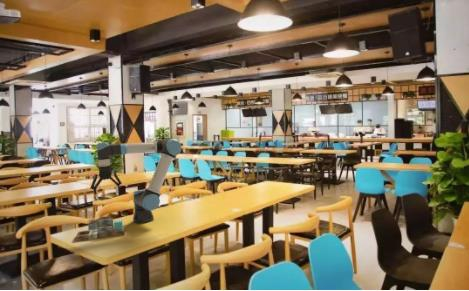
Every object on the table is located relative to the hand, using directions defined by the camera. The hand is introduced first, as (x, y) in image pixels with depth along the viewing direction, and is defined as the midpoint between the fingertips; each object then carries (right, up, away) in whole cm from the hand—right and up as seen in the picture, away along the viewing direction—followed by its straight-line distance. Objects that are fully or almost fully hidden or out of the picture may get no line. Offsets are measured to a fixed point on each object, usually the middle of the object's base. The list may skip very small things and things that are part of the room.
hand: (107, 197), depth 239 cm
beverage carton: (-10, -24, +14) cm, 30 cm away
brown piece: (-2, -24, -5) cm, 25 cm away
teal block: (+8, -21, -2) cm, 22 cm away
